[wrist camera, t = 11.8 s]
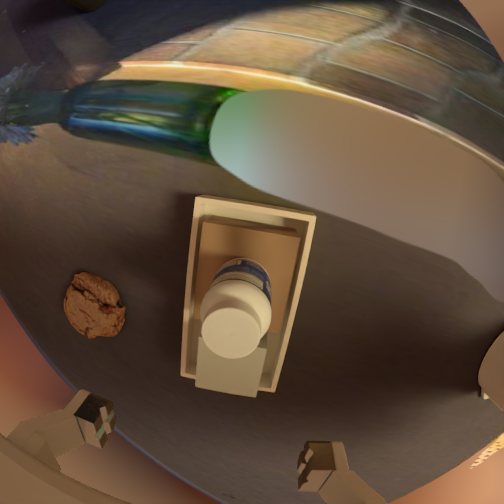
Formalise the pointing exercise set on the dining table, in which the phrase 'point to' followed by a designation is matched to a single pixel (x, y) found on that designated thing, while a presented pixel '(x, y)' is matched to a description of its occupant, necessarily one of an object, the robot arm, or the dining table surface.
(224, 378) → the pale green block
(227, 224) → the walnut block
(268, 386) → the box
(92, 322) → the cookie
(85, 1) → the drinking cup
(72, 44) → the dining table surface
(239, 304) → the pill bottle
